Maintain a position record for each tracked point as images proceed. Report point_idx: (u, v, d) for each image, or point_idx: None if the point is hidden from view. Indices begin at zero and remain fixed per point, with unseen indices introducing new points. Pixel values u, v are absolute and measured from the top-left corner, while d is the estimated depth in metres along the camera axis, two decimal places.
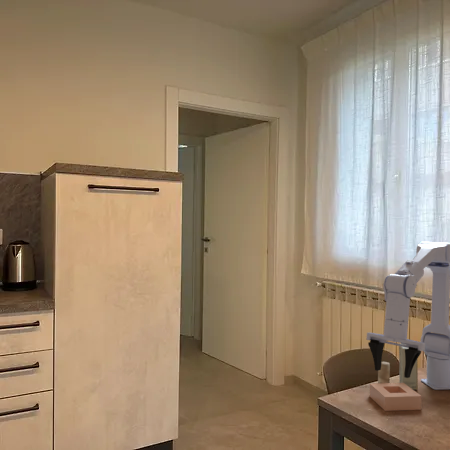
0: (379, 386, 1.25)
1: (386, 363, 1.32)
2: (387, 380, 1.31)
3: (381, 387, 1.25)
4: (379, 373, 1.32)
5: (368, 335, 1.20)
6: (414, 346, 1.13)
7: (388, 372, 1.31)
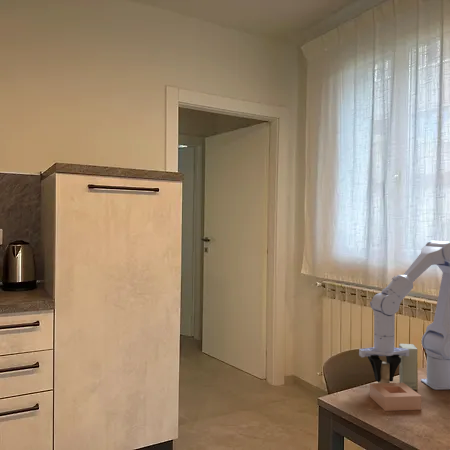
0: (379, 386, 1.25)
1: (386, 363, 1.32)
2: (387, 380, 1.31)
3: (381, 387, 1.25)
4: None
5: (363, 353, 1.31)
6: (401, 353, 1.32)
7: (388, 372, 1.31)
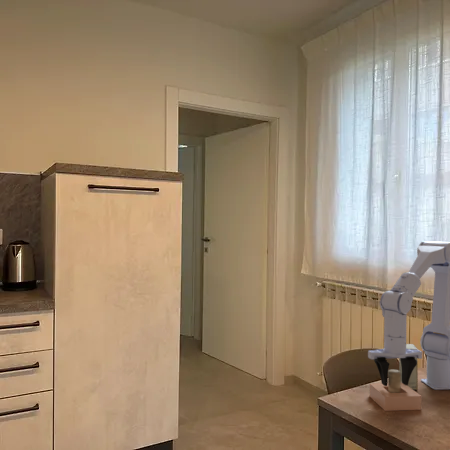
0: (379, 386, 1.25)
1: (397, 371, 1.23)
2: (398, 389, 1.22)
3: (381, 387, 1.25)
4: (389, 382, 1.23)
5: (372, 355, 1.22)
6: (413, 355, 1.23)
7: (399, 381, 1.22)
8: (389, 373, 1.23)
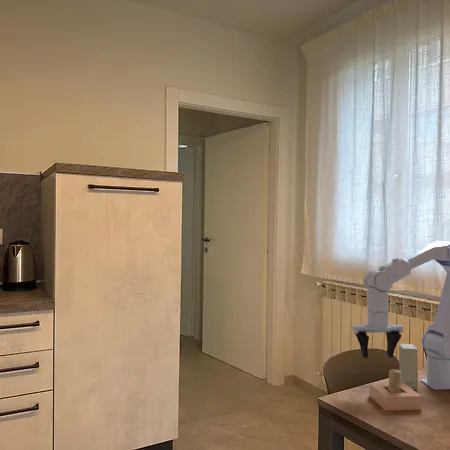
0: (379, 386, 1.25)
1: (397, 371, 1.23)
2: (398, 389, 1.22)
3: (381, 387, 1.25)
4: (390, 382, 1.23)
5: (356, 329, 1.30)
6: (394, 330, 1.32)
7: (400, 381, 1.22)
8: (390, 373, 1.23)
